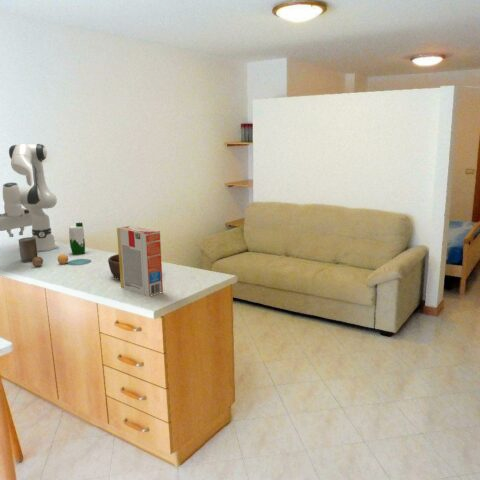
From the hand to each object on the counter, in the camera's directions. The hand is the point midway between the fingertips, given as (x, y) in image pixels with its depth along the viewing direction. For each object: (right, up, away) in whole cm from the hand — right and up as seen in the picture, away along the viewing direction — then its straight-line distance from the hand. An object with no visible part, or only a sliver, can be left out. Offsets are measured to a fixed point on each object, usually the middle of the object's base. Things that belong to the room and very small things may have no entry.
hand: (16, 236), depth 260 cm
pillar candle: (-3, -15, +22) cm, 27 cm away
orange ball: (+22, -14, +12) cm, 28 cm away
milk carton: (+22, -11, +38) cm, 46 cm away
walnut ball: (+9, -15, +7) cm, 19 cm away
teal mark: (+30, -16, +16) cm, 38 cm away
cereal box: (+79, -27, -37) cm, 91 cm away
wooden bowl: (+69, -22, -12) cm, 74 cm away
